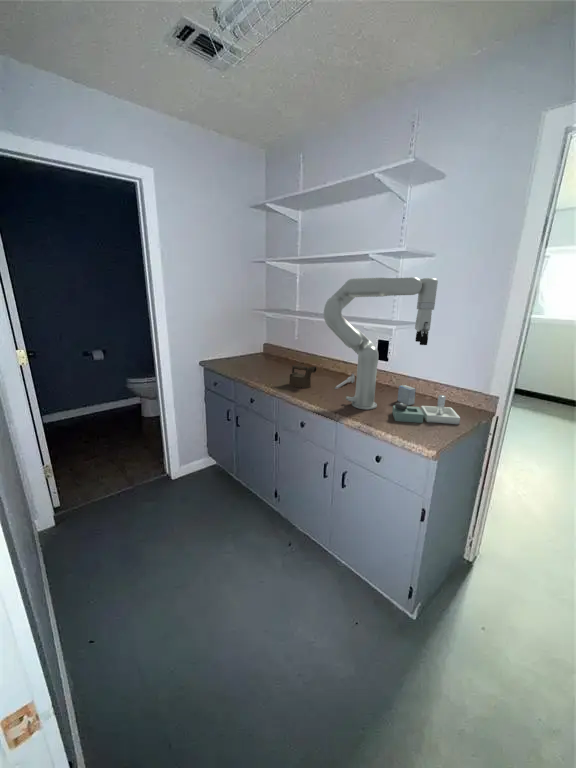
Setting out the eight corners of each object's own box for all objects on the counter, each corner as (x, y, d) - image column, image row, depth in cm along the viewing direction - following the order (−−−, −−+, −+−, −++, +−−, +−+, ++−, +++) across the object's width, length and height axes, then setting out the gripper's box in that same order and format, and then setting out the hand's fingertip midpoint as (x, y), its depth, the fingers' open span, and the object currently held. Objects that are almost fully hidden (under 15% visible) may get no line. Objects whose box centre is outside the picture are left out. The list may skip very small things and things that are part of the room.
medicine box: (414, 404, 173) (416, 388, 171) (408, 405, 171) (410, 389, 169) (403, 399, 180) (404, 384, 177) (396, 401, 178) (398, 385, 175)
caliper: (352, 382, 212) (353, 372, 211) (354, 382, 212) (354, 373, 210) (334, 389, 198) (334, 379, 196) (335, 389, 197) (336, 379, 195)
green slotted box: (395, 420, 151) (396, 406, 149) (392, 413, 161) (393, 399, 159) (422, 422, 149) (424, 408, 147) (418, 414, 159) (419, 401, 157)
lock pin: (436, 417, 154) (439, 396, 151) (434, 414, 157) (437, 394, 154) (443, 417, 154) (446, 397, 151) (441, 415, 156) (444, 395, 154)
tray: (426, 422, 151) (427, 415, 150) (420, 411, 163) (421, 405, 162) (459, 424, 148) (460, 417, 147) (450, 413, 161) (451, 407, 160)
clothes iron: (310, 390, 195) (311, 368, 191) (288, 385, 203) (288, 364, 200) (317, 386, 201) (318, 365, 197) (295, 382, 210) (295, 361, 206)
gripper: (413, 305, 161) (409, 340, 166) (421, 307, 145) (416, 346, 149) (429, 305, 160) (425, 340, 165) (439, 307, 143) (433, 346, 148)
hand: (421, 343), depth 157 cm, fingers open, 9 cm apart
